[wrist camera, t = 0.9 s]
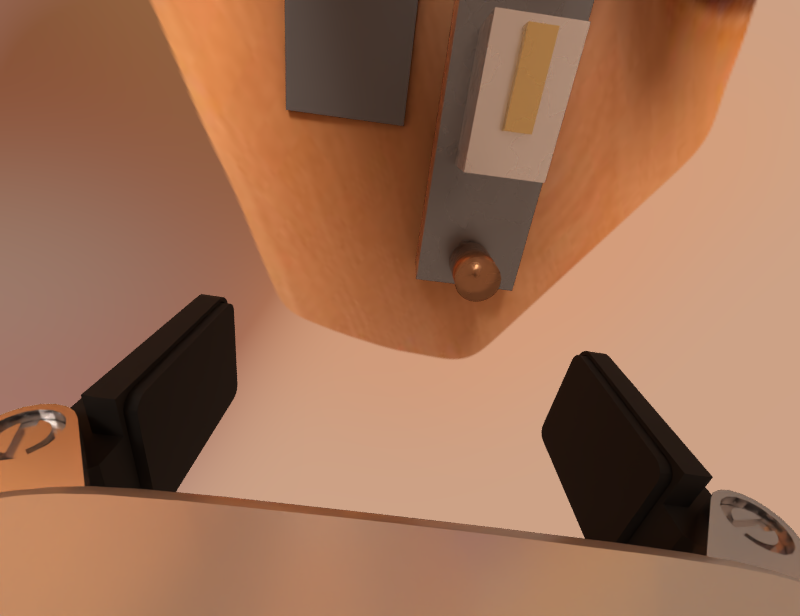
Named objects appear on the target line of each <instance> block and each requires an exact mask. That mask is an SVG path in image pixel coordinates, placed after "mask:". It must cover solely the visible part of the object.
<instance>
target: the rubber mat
mask: <svg viewBox="0 0 800 616" xmlns="http://www.w3.org/2000/svg"><path fill="white" fill-rule="evenodd" d="M417 6H418V0H285V62H286V110H292V111H299V112H306V113H313V114H321V115H328V116H335V117H342V118H349V119H357V120H364V121H371V122H378V123H385V124H392V125H400V126H404V118H405V109H406V101H407V92H408V83H409V75H410V66H411V57H412V49H413V40H414V32H415V23H416V14H417Z"/></svg>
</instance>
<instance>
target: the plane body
mask: <svg viewBox="0 0 800 616" xmlns="http://www.w3.org/2000/svg"><path fill="white" fill-rule="evenodd" d="M593 3H594V0H455V2H454V9H453V15H452V22H451V29H450V35H449V42H448V49H447V55H446V62H445V69H444V75H443V82H442V88H441V95H440V102H439V108H438V115H437V122H436V128H435V135H434V142H433V148H432V155H431V162H430V168H429V175H428V181H427V188H426V195H425V201H424V208H423V215H422V221H421V228H420V235H419V241H418V248H417V255H416V261H415V266H416V279H421V280H429V281H437V282H445V283H453V284H455V286H456V289H457V291H458V293H459V294H460V295H461V296H462V297H463V298H465V299H467V300H470V301H483V300H486V299H488V298H490V297H491V296H493V295H494V294H495V293H496V291H497V290H498V289H502V290H510V291H512V289H513V286H514V282H515V279H516V275H517V272H518V268H519V264H520V261H521V257H522V254H523V250H524V247H525V243H526V240H527V236H528V233H529V229H530V226H531V222H532V218H533V215H534V211H535V208H536V204H537V201H538V197H539V194H540V190H541V187H542V183H540V182H533V181H526V180H518V179H511V178H503V177H496V176H489V175H481V174H474V173H466V172H463V171H462V170H461V169H459V168H458V167H457V166H456V165H455V163H456V157H457V152H458V146H459V141H460V135H461V130H462V124H463V118H464V113H465V107H466V102H467V96H468V90H469V85H470V79H471V74H472V68H473V62H474V57H475V51H476V46H477V40H478V34H479V29H480V27H481V25H482V24H483V23H484V21H485V20H486V19H487V17H488V16H489V15H490V13H491V12H492V11H493V9H494V8H495V7H498V8H505V9H511V10H518V11H524V12H531V13H537V14H544V15H550V16H557V17H564V18H570V19H577V20H583V21H588V20H589V17H590V13H591V10H592V6H593Z"/></svg>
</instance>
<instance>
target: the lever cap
mask: <svg viewBox="0 0 800 616" xmlns="http://www.w3.org/2000/svg"><path fill="white" fill-rule="evenodd" d="M589 26H590V21H583V20H577V19H570V18H564V17H557V16H550V15H544V14H537V13H531V12H524V11H518V10H511V9H505V8H498V7H495V8H494V9H493V11H492V12H491V13H490V15H489V16H488V17H487V19H486V20H485V21H484V23H483V24H482V25H481V27H480V29H479V34H478V40H477V46H476V51H475V57H474V62H473V68H472V74H471V79H470V85H469V90H468V96H467V102H466V107H465V113H464V118H463V124H462V130H461V135H460V141H459V146H458V152H457V157H456V163H455V165H456V166H457V167H458V168H459V169H461V170H462V171H463V172H466V173H474V174H481V175H489V176H496V177H503V178H511V179H518V180H526V181H533V182H540V183H545V180H546V177H547V173H548V170H549V166H550V163H551V159H552V156H553V152H554V149H555V145H556V142H557V138H558V135H559V131H560V128H561V124H562V121H563V117H564V114H565V110H566V107H567V103H568V100H569V96H570V93H571V89H572V86H573V82H574V79H575V75H576V72H577V68H578V65H579V61H580V58H581V54H582V51H583V47H584V44H585V40H586V37H587V33H588V29H589Z"/></svg>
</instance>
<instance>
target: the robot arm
mask: <svg viewBox="0 0 800 616" xmlns="http://www.w3.org/2000/svg"><path fill="white" fill-rule="evenodd" d="M236 369H237V368H236V346H235V325H234V308H233V305H232V304H228V303H227V300H226V299H225V298H224V297H217V296H210V295H203V294H201V295H199V296H198V297H197V298H195V299H194V300H193V301H192V302H191V303H189V304H188V305H187V306H186V307H185V308H184V309H182V310H181V311H180V312H179V313H178V314H176V315H175V316H174V317H173V318H172V319H171V320H169V322H167V323H166V324H165V325H163V326H162V327H161V328H160V329H159V330H157V331H156V332H155V333H154V334H153V335H152V336H150V337H149V338H148V339H147V340H146V341H145V342H143V343H142V344H141V345H140V346H139V347H137V348H136V349H135V350H134V351H133V352H131V354H129V355H128V356H127V357H126V358H124V359H123V360H122V361H121V362H120V363H118V364H117V365H116V366H115V367H114V368H112V370H110V371H109V372H108V373H107V374H105V375H104V376H103V377H102V378H101V379H99V380H98V381H97V382H96V383H95V384H93V385H92V386H91V387H90V388H89V389H88V390H86V391H85V392H84V393H83V394H82V395H81V397H82V398H81V399H80V400H79V401H78V402H77V403H75V404H74V405H73V406H72V407H71V408H69V407H67V406H63V405H59V404H38V405H32V406H26V407H22V408H19V409H16V410H12V411H9V412H6V413H4V414H2V415H0V616H800V538H799V537H798V536H797V534H796V533H795V532H794V531H793V530H792V528H790V527H789V526H788V525H787V524H786V523H785V522H784V521H783V520H782V519H781V518H780V517H778V516H777V515H776V514H775V513H773V512H772V511H771V510H769V509H768V508H767V507H765V506H763V505H762V504H760V503H758V502H757V501H755V500H753V499H751V498H749V497H747V496H745V495H743V494H740V493H737V492H733V491H730V490H718V491H716V492H713V494H712V495H711V494H710V493H709V491H708V490H707V489H706V488H705V486H706V485H707V484H708V483H709V481H710V480H711V479H712V476H711V475H710V473H709V472H708V471H707V470H706V469H705V468H704V467H703V465H702V464H701V463H700V462H699V461H698V459H697V458H696V457H695V456H694V455H693V454H692V453H691V451H690V450H689V449H688V448H687V447H686V446H685V444H684V443H683V442H682V441H681V440H680V438H679V437H678V436H677V435H676V434H675V433H674V432H673V430H672V429H671V428H670V427H669V426H668V425H667V423H666V422H665V421H664V420H663V419H662V418H661V416H660V415H659V414H658V413H657V412H656V411H655V409H654V408H653V407H652V406H651V405H650V404H649V402H648V401H647V400H646V399H645V398H644V397H643V396H642V394H641V393H640V392H639V391H638V390H637V388H636V387H635V386H634V385H633V384H632V383H631V381H630V380H629V379H628V378H627V377H626V376H625V375H624V373H623V372H622V371H621V370H620V369H619V368H618V366H617V365H616V364H615V363H614V362H613V361H612V359H611V358H610V357H609V356H608V355H607V354H602V353H595V352H589V351H584V352H582V353H581V354H580V355H576V356H575V357H574V358H573V359H572V362H571V364H570V366H569V368H568V371H567V373H566V375H565V377H564V379H563V382H562V384H561V386H560V388H559V391H558V393H557V395H556V398H555V400H554V402H553V404H552V406H551V409H550V411H549V413H548V415H547V417H546V420H545V422H544V424H543V427H542V439H543V441H544V444H545V446H546V449H547V451H548V453H549V455H550V458H551V460H552V463H553V465H554V467H555V470H556V472H557V474H558V477H559V479H560V481H561V484H562V486H563V488H564V491H565V493H566V495H567V498H568V500H569V502H570V505H571V507H572V509H573V512H574V514H575V516H576V519H577V521H578V523H579V526H580V528H581V530H582V533H583V535H584V537H585V539H582V538H574V537H566V536H558V535H550V534H542V533H534V532H525V531H518V530H510V529H501V528H493V527H484V526H476V525H467V524H459V523H451V522H442V521H434V520H425V519H416V518H408V517H399V516H390V515H382V514H374V513H365V512H357V511H348V510H339V509H330V508H321V507H311V506H302V505H294V504H284V503H276V502H267V501H258V500H249V499H240V498H231V497H222V496H211V495H200V494H190V493H179V492H176V491H177V489H178V487H179V486H180V484H181V483H182V481H183V479H184V478H185V476H186V474H187V473H188V471H189V470H190V468H191V467H192V465H193V463H194V462H195V460H196V459H197V457H198V455H199V454H200V452H201V450H202V449H203V447H204V446H205V444H206V442H207V441H208V439H209V437H210V436H211V434H212V433H213V431H214V429H215V428H216V426H217V425H218V423H219V421H220V420H221V418H222V417H223V415H224V413H225V412H226V410H227V408H228V407H229V405H230V404H231V402H232V400H233V399H234V397H235V394H236V391H237V370H236Z"/></svg>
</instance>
